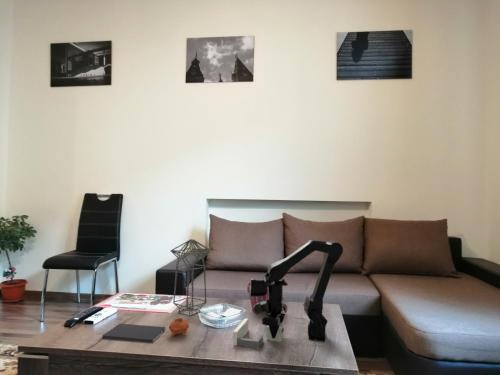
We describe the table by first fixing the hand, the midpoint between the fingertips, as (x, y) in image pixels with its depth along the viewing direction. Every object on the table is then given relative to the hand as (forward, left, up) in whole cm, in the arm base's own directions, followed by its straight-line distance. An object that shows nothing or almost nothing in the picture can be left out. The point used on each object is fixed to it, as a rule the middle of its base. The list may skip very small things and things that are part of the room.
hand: (275, 335), depth 136 cm
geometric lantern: (+46, -17, -1) cm, 49 cm away
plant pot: (+14, -30, -1) cm, 33 cm away
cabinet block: (0, 0, -1) cm, 1 cm away
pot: (+38, +9, -1) cm, 39 cm away
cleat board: (+9, +4, -1) cm, 10 cm away
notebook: (+55, +14, -2) cm, 57 cm away
